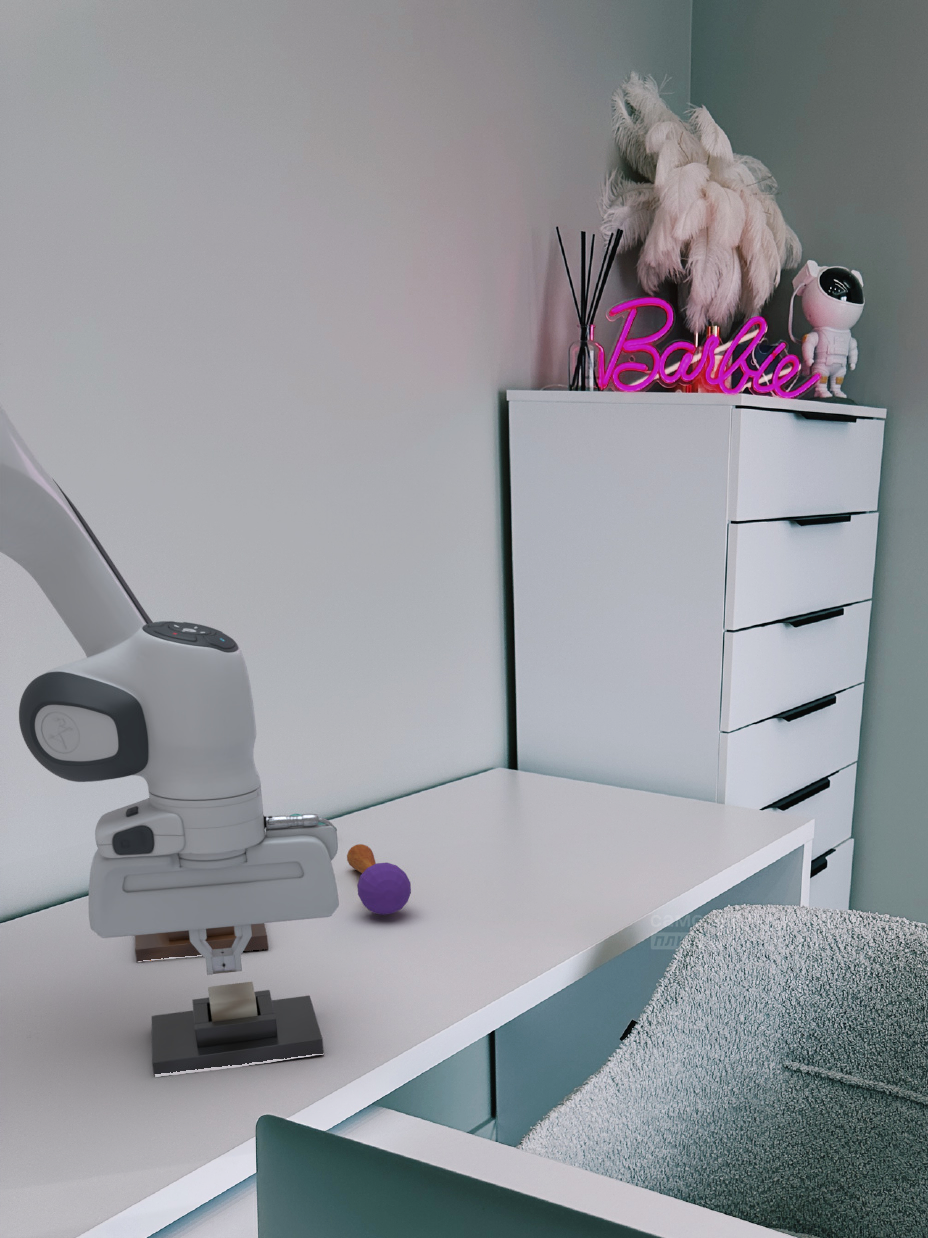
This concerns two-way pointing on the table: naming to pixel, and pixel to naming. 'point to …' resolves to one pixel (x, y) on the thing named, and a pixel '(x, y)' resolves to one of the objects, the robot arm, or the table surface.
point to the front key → (232, 1001)
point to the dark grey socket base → (235, 1035)
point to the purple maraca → (379, 882)
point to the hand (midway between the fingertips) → (224, 970)
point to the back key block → (181, 945)
